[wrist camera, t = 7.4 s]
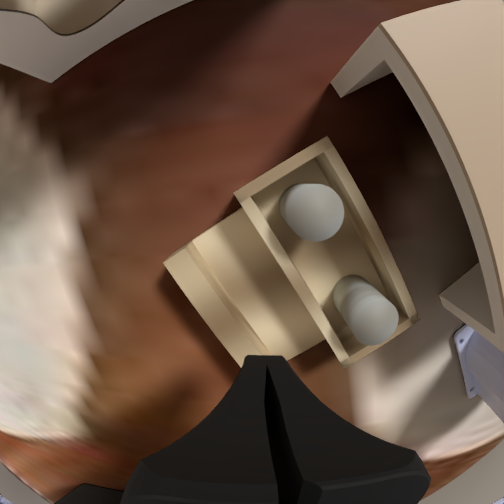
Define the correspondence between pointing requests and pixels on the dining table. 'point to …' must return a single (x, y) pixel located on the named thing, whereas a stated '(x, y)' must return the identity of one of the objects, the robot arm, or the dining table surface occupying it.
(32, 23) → the gable box
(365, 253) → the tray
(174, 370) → the dining table surface
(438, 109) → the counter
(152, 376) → the dining table surface
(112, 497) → the flower pot
